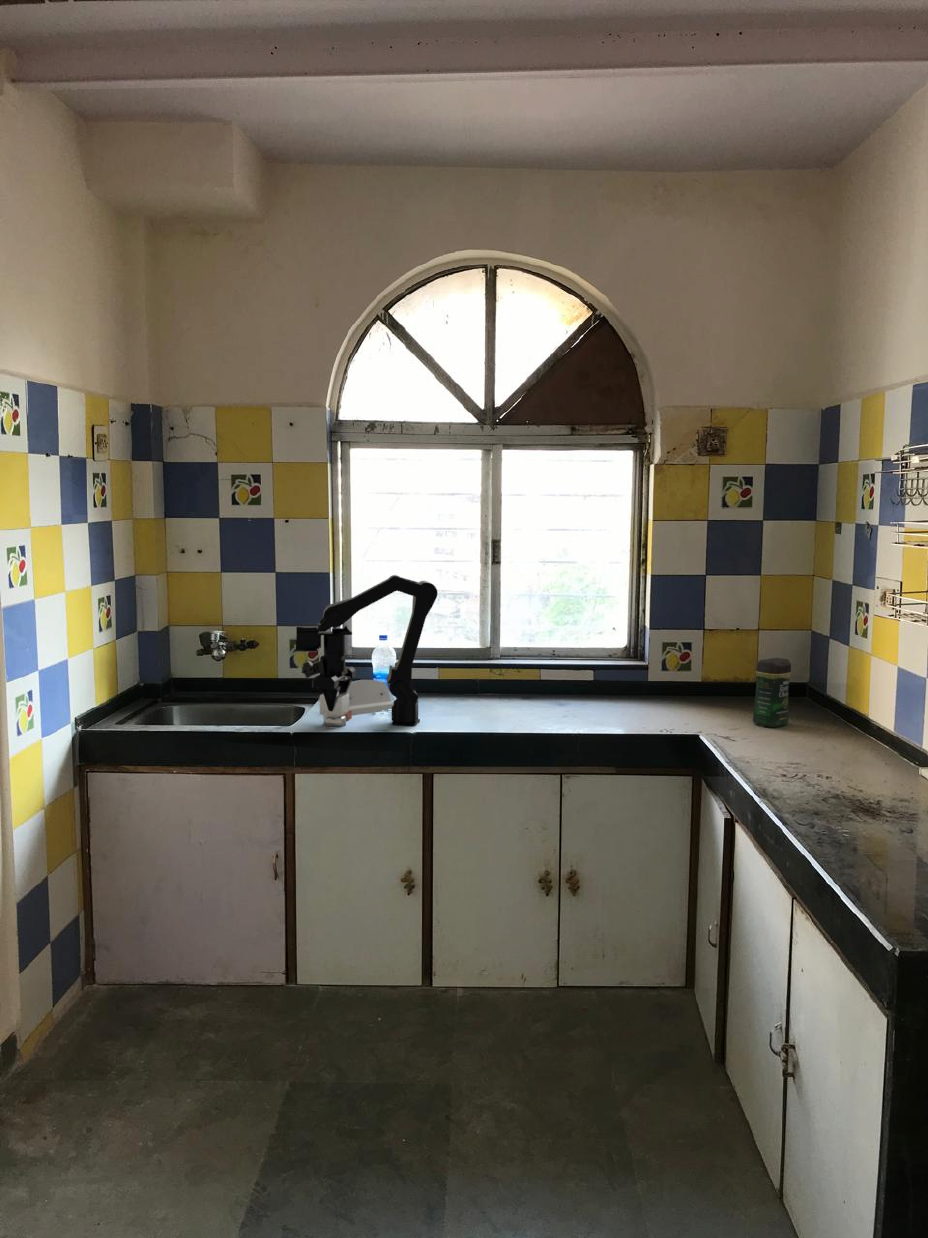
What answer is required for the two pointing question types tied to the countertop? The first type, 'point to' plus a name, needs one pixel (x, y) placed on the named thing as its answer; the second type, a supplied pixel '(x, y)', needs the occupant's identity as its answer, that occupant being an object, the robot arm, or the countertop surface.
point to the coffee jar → (772, 692)
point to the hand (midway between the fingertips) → (334, 708)
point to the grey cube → (336, 704)
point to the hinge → (368, 697)
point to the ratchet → (337, 719)
